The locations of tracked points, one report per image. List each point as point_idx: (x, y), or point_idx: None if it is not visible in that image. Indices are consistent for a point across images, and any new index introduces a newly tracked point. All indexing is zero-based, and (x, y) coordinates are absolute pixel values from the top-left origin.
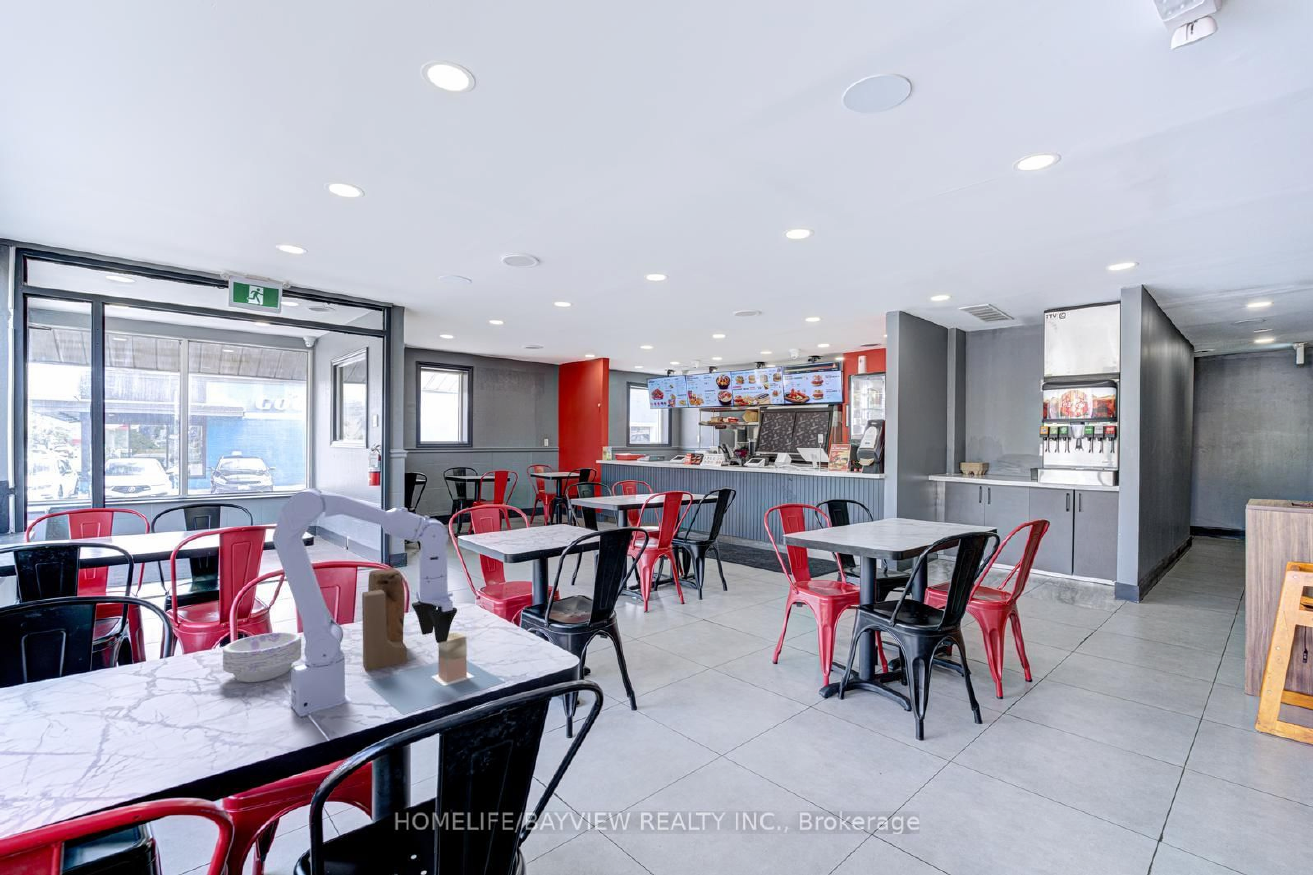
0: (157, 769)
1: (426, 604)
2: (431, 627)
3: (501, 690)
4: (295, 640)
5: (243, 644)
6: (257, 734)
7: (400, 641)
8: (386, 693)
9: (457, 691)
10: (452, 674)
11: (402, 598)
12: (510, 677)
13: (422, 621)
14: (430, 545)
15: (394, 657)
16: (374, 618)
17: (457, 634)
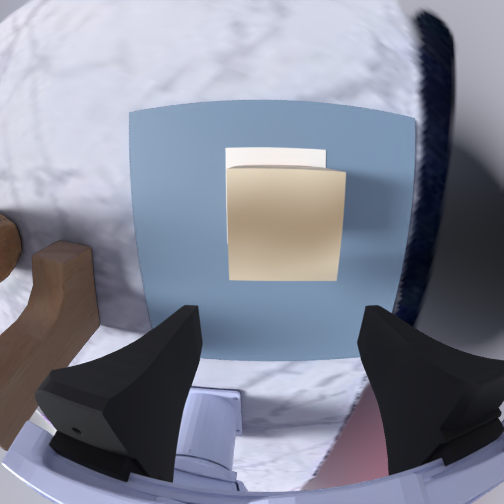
0: (266, 483)
1: (150, 459)
2: (192, 326)
3: (429, 146)
4: (39, 413)
5: (30, 420)
6: (254, 455)
7: (5, 231)
8: (254, 351)
9: (378, 234)
10: None
11: None
12: (377, 77)
13: (184, 392)
14: None
15: (81, 284)
16: (30, 393)
17: (277, 192)
